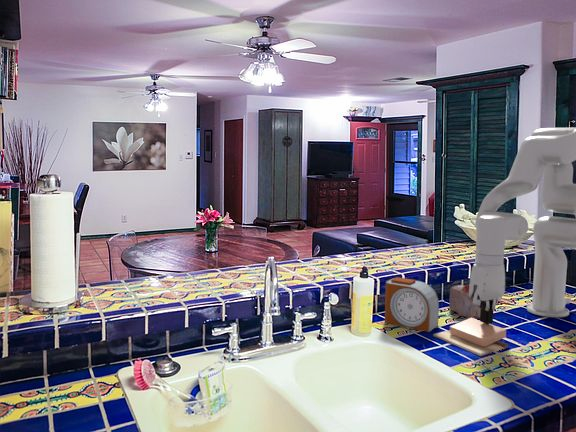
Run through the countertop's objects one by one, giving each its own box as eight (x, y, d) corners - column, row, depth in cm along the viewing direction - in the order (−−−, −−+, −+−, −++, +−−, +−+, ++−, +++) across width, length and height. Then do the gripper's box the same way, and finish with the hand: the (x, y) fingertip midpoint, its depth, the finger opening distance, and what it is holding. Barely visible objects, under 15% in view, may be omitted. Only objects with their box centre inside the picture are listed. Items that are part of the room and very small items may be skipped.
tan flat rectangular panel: (456, 330, 162) (456, 328, 162) (504, 349, 147) (504, 347, 147) (433, 336, 157) (433, 334, 157) (480, 356, 142) (480, 353, 142)
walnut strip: (459, 329, 162) (459, 325, 162) (507, 348, 148) (507, 344, 148) (456, 330, 162) (456, 326, 161) (504, 349, 147) (504, 345, 147)
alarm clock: (382, 323, 169) (383, 280, 167) (393, 315, 175) (394, 274, 174) (428, 332, 160) (429, 287, 158) (438, 324, 167) (439, 281, 165)
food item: (492, 320, 171) (494, 289, 170) (471, 323, 169) (473, 292, 167) (464, 307, 184) (465, 279, 183) (444, 310, 181) (445, 281, 180)
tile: (471, 317, 161) (449, 326, 156) (505, 329, 150) (483, 339, 146) (471, 325, 161) (450, 334, 157) (506, 337, 151) (484, 347, 147)
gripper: (496, 254, 159) (493, 314, 162) (460, 259, 152) (457, 323, 155) (518, 259, 153) (514, 321, 155) (481, 265, 146) (478, 331, 148)
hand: (486, 322), depth 155 cm, fingers closed
